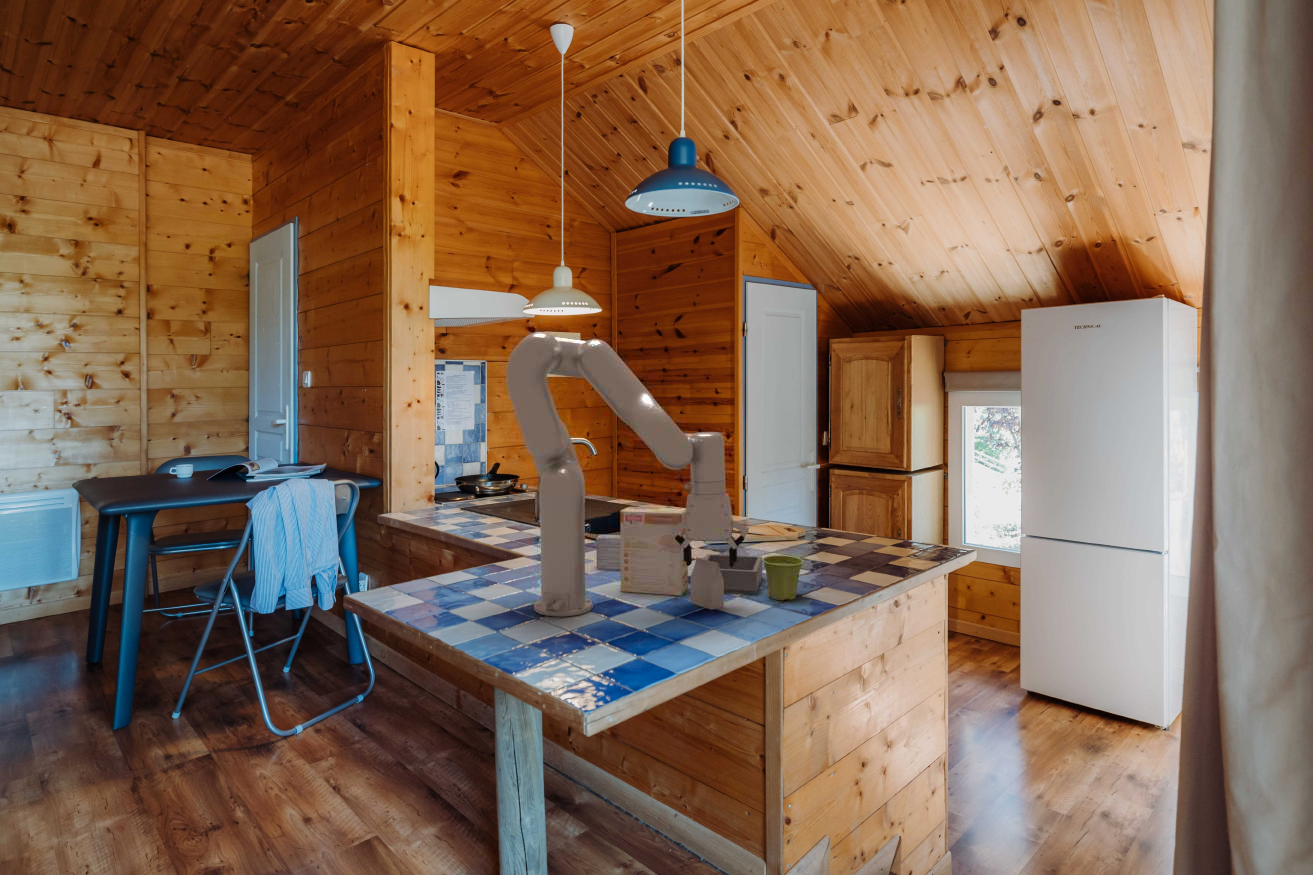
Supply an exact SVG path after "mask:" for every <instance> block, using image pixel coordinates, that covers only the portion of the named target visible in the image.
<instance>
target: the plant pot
mask: <svg viewBox="0 0 1313 875" xmlns="http://www.w3.org/2000/svg"><path fill="white" fill-rule="evenodd" d="M804 562H805V561H804V560H803V558H800V557H797V556H792V555H781V554H780V555H779V554H778V555H775V554H774V555H767V556H764V557H762V563H763V565H764V568H765V573H766V580H767V581H766V582H767V593H768V597H770V598H771V599H773V600H779V601H785V600H788V601H789V600H791V601H792V600H794V599H796V597H797V589H798V584H799V578H800V573H801V572H800V571H801V569H802V566H803V564H804Z"/></svg>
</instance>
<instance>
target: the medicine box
mask: <svg viewBox="0 0 1313 875" xmlns="http://www.w3.org/2000/svg"><path fill="white" fill-rule="evenodd" d="M595 540H596V541H595V544H596V547H595V548H596V549H595V550H596V556H595V557H596V570H599V571H600V570H601V571H602V570H604V571H605V570H609V571H610V570H611V571H613V570H614V571H616V570H617V571H621V534H599V535H598V536H597V537H596V539H595Z"/></svg>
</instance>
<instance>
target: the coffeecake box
mask: <svg viewBox="0 0 1313 875" xmlns="http://www.w3.org/2000/svg"><path fill="white" fill-rule="evenodd" d="M619 514H620V515H619V516H620V535H621V570H620V591H621V593H622V592H623V593H638V594H639V593H640V594H650V595H651V594H653V595H654V594H655V595H667V596H680V597H682V596H683V594H684V593H685V592H686V591H688V589H689V566H686V561H684V554H683V548H682V546H681V545H680V544H679V543H678V542H677V541H676V540H675V537H674V535H673V534H672V532H671V528H672V527H673V526H675V525H677V524H679V523H680V522H682V521H684V520H686V508H676V507H675V508H673V507H672V508H671V507H649V506H648V507H646V506H645V507H644V506H643V507H642V506H628V507H625V508H623V509H621V510H620V513H619ZM679 533H680V535H681V536H682V537H683V538H684V539H685V540H686V534H685V527H683V528H682V529H680V530H679Z"/></svg>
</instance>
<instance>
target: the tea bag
mask: <svg viewBox="0 0 1313 875" xmlns="http://www.w3.org/2000/svg"><path fill="white" fill-rule="evenodd" d="M724 594H725V593H724V579H723V577H722V574H721V571H720V567H719V563H717V562H713V561H709V560H705V559H704V558H701V557H695V562H694V566H693V568H692V572H691V575H690V604H693V605H696V606H699V607H701V608H706V609H709V610H717V609H719V608H723V607H724V606H725V605H724V601H725V600H724V599H725V598H724V596H725V595H724Z"/></svg>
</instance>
